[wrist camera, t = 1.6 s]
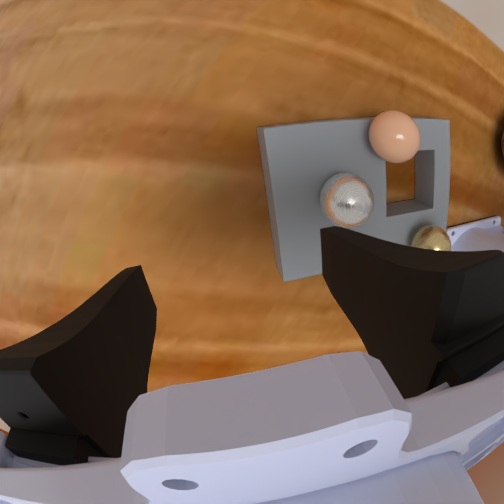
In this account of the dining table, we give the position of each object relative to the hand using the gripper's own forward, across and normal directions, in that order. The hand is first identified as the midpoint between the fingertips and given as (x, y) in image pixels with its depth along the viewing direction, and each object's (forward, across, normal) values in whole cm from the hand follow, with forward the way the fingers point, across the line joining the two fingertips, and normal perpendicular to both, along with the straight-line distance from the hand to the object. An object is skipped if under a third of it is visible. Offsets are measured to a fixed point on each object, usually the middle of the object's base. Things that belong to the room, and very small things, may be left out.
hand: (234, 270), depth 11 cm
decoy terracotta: (+5, -10, -4) cm, 12 cm away
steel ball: (+5, -7, 0) cm, 9 cm away
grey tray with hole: (+9, -10, 0) cm, 14 cm away
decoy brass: (+5, -14, +4) cm, 16 cm away
